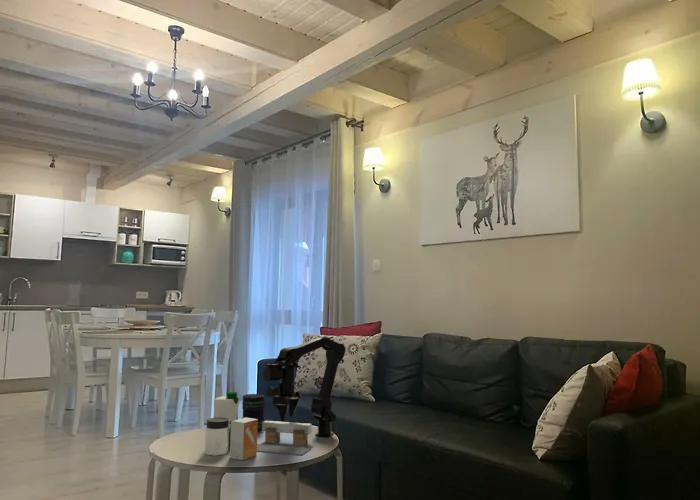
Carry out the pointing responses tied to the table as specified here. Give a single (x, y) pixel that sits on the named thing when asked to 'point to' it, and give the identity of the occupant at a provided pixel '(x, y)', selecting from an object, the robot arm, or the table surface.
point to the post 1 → (271, 435)
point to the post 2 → (299, 437)
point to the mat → (281, 449)
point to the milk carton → (227, 408)
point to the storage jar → (254, 408)
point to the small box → (243, 438)
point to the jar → (217, 436)
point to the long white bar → (287, 426)
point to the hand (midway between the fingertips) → (287, 418)
